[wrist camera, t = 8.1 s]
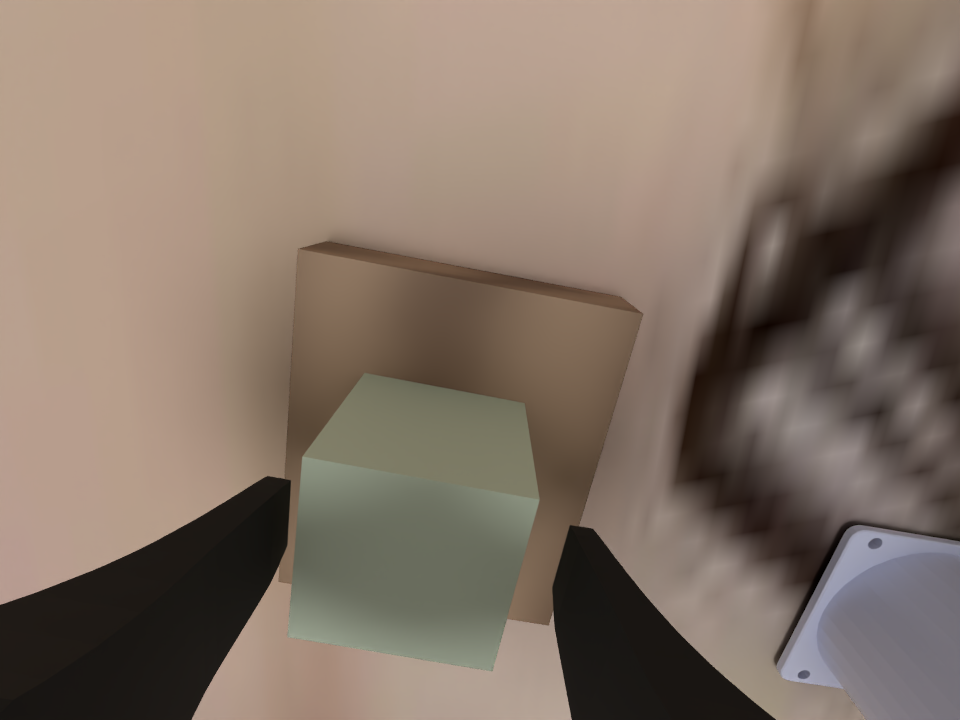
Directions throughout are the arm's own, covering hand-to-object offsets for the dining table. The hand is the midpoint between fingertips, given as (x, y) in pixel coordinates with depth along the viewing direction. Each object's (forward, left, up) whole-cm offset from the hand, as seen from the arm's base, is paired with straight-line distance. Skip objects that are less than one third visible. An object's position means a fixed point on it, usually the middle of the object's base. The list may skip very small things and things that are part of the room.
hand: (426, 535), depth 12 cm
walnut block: (0, 0, -6) cm, 6 cm away
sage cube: (0, 0, -3) cm, 4 cm away
